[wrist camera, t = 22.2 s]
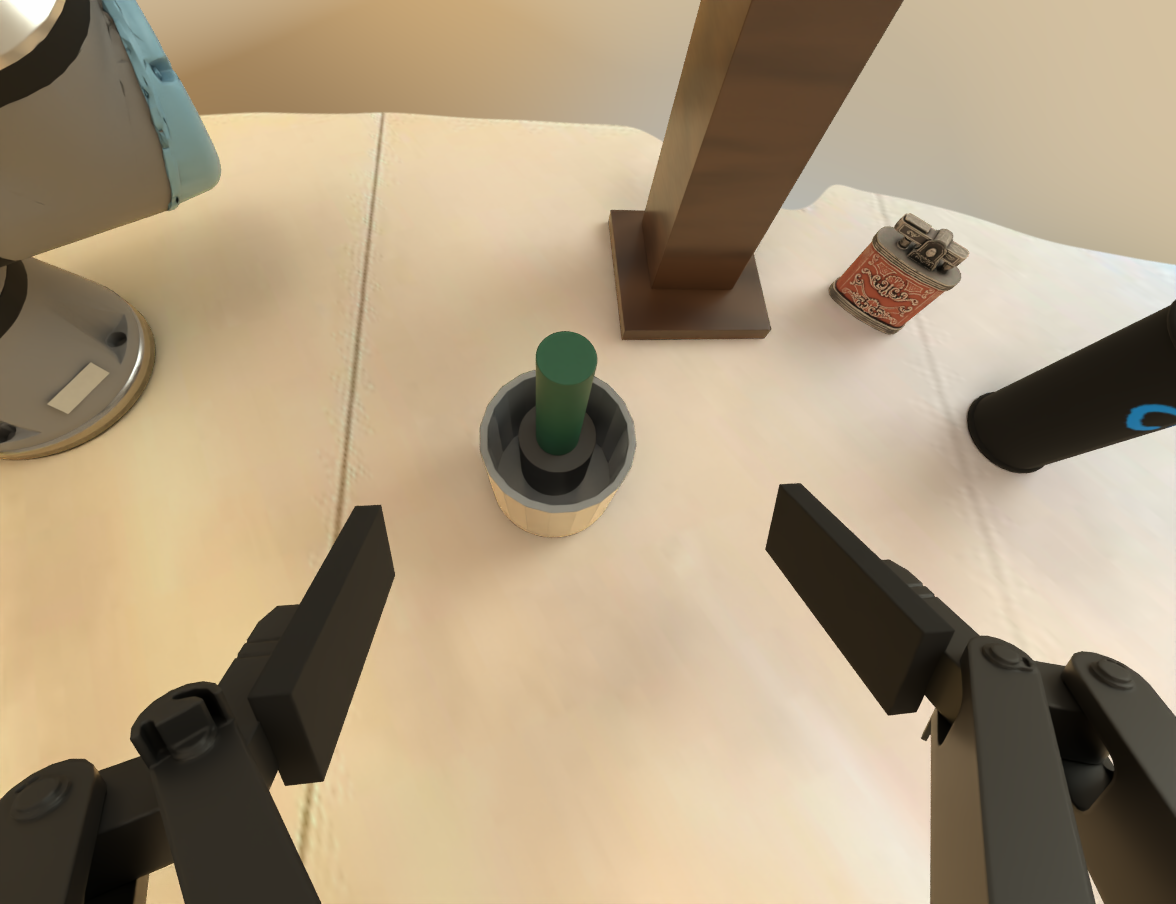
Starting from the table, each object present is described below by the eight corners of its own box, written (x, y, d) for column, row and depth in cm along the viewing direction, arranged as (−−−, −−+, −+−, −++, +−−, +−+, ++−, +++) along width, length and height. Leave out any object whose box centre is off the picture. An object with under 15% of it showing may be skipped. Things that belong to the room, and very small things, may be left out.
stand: (765, 343, 46) (1158, -133, 17) (622, 344, 45) (786, -180, 15) (737, 220, 51) (1007, -315, 22) (608, 217, 50) (712, -366, 20)
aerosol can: (950, 405, 46) (1234, 258, 27) (1015, 384, 48) (1326, 231, 29) (998, 484, 44) (1346, 383, 25) (1065, 459, 46) (1438, 346, 27)
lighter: (905, 319, 49) (992, 247, 40) (892, 341, 48) (978, 273, 39) (837, 275, 50) (907, 195, 41) (823, 296, 49) (891, 219, 40)
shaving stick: (627, 406, 23) (615, 309, 25) (512, 409, 22) (509, 310, 24) (589, 494, 39) (584, 431, 41) (522, 497, 38) (519, 434, 40)
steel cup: (467, 494, 39) (446, 456, 30) (536, 400, 42) (537, 341, 33) (572, 562, 38) (583, 544, 29) (635, 461, 41) (662, 416, 32)
